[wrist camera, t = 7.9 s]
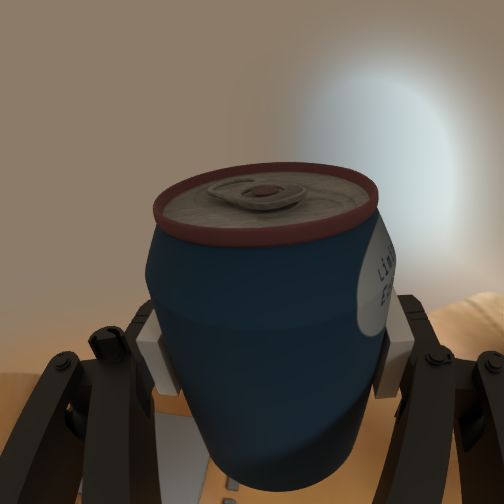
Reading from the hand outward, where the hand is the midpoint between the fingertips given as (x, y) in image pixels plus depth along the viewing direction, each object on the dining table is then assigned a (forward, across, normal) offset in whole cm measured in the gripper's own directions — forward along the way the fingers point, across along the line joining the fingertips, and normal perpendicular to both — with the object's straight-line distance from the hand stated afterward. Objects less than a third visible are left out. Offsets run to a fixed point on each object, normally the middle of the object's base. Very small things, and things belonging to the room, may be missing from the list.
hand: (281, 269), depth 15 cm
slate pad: (-2, -12, -18) cm, 22 cm away
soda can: (-5, 0, -7) cm, 8 cm away
